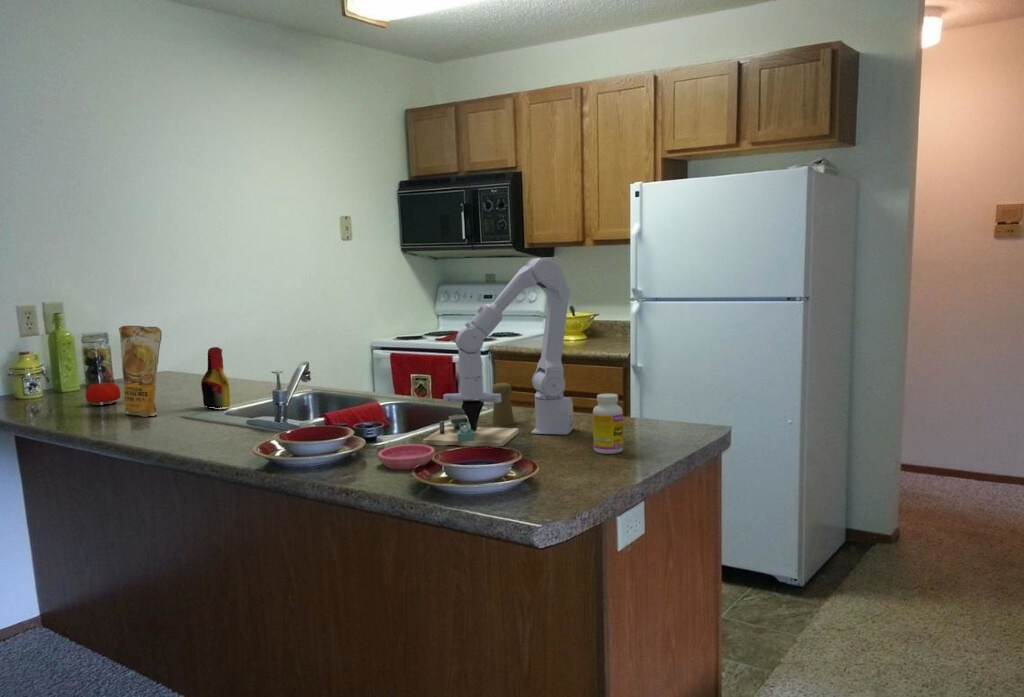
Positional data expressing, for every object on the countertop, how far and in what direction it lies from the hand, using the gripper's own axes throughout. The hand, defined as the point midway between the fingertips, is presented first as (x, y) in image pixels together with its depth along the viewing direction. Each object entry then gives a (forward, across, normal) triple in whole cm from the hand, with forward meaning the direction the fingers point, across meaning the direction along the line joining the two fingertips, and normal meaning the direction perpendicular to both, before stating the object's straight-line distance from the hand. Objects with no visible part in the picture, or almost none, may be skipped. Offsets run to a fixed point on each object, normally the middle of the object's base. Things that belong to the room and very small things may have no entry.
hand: (473, 430), depth 190 cm
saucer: (+2, +7, +25) cm, 26 cm away
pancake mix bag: (+1, +117, -19) cm, 118 cm away
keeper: (+2, +7, -3) cm, 8 cm away
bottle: (+1, +97, -30) cm, 102 cm away
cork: (+2, -2, -18) cm, 18 cm away
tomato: (+1, +146, -33) cm, 150 cm away
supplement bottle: (+2, -35, +8) cm, 36 cm away
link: (+1, +2, +2) cm, 2 cm away
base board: (+2, 0, 0) cm, 2 cm away
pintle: (+1, 0, +6) cm, 6 cm away
